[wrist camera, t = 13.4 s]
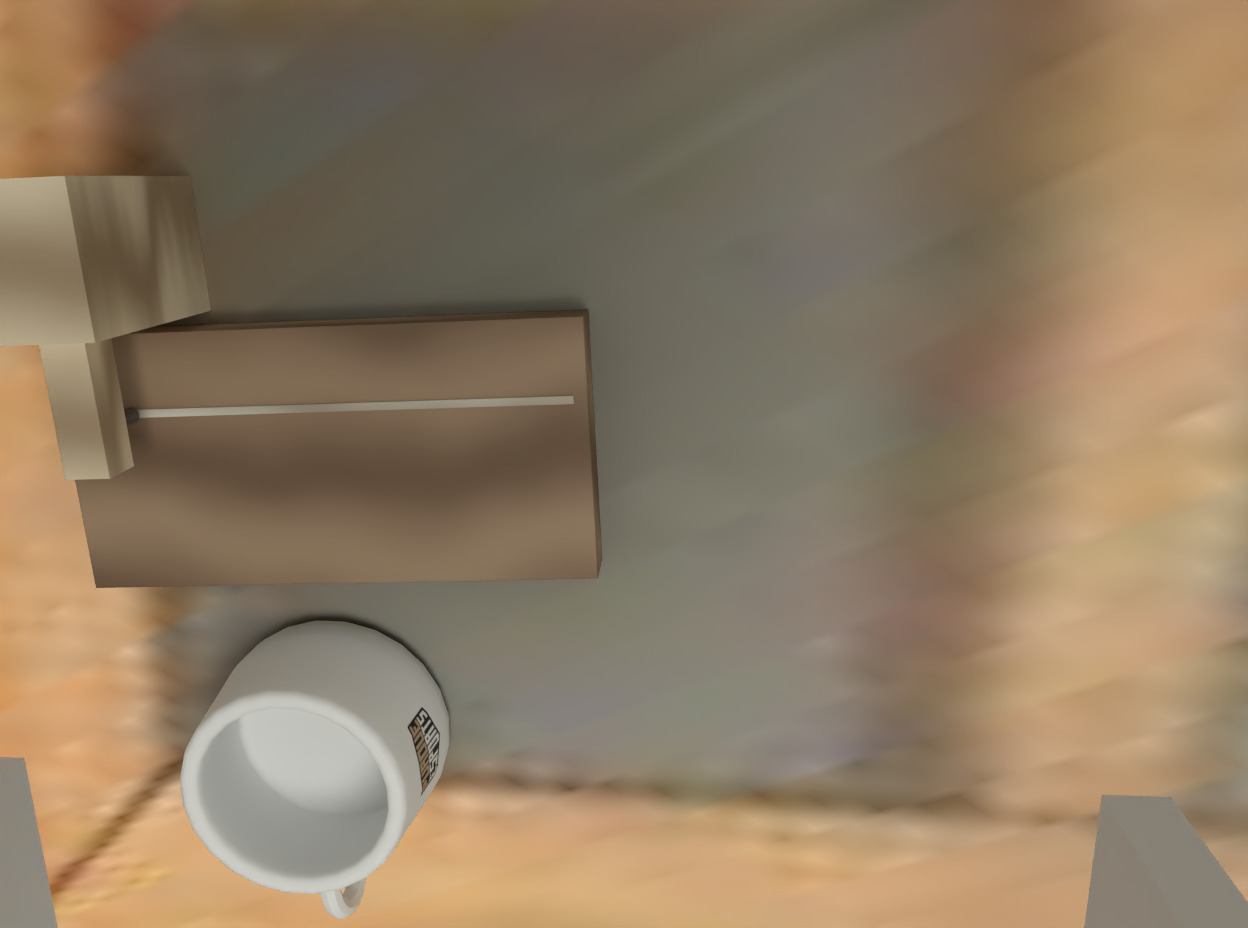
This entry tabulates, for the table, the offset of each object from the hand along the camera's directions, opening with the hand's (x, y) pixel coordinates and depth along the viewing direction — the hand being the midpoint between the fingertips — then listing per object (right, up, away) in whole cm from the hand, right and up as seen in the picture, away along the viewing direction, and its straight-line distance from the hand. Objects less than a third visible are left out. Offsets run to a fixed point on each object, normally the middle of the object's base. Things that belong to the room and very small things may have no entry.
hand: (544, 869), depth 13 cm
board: (-10, +6, +28) cm, 30 cm away
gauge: (-17, +11, +27) cm, 34 cm away
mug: (-11, -7, +32) cm, 35 cm away
